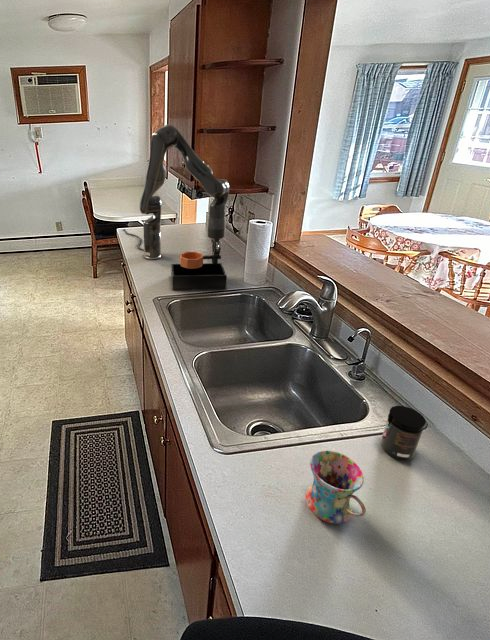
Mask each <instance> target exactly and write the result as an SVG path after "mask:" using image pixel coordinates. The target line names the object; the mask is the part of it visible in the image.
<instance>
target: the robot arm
mask: <svg viewBox="0 0 490 640" xmlns="http://www.w3.org/2000/svg"><path fill="white" fill-rule="evenodd" d="M172 148H175V149H176V150H177V151H178V152H179V153H180V155H181V156H182V159H183V162H184V165H185V168H186V170H187V171H188V172H189V173H190V175H191V176H193V178H194V179H195V180H196V181H198V182H199V183H200V185H201V187H202V188H203V190H204V191H205V193H206V194H208V195H209V197H211V198H212V199H211V202H210V203H209V207H208V218H207V237H208V238H209V239H210V252H211V255H212V256H213V259H211V263H213V265H217V264H218V263H219V259H218V257H219V255H221V249H222V247H221V246H222V242H221V239H224V238H225V237H226V224H227V221H226V220H227V219H226V218H227V217H226V213H227V203H228V199H229V194H230V184H229V182H228V180H227V179H225V178H216V177H215V176H214V174H213V173H214V172H213V169H212V168H211V167H210V166H209V165H208V164H207V163H205V161H204V160H203V159H201V158H200V157H199V155H198V154H197V153H196V152H195V151H194V149H193V148H192V147H191V145H190V144H189V143H188V142H187V140H186V139H185V138H184V136H183V135H182V134H181V132H180V131H179V130H178V129H177V128H176V127H175V126H174V125H172V124H165V125H163V126H161V127H160V128H158V129H156V130H155V131H154V133H152V135H151V138H150V147H149V157H148V158H149V159H148V164H147V169H146V174H145V181H144V186H143V190H142V194H141V197H140V201H139V211H140V213H141V214H142V215H145V216H146V215H148V216H149V215H151V216H150V217H148V218H146V219H145V220H143V221H142V227H143V228H142V229H143V230H142V231H143V248H141V247H140V245H141V242H142V239H141V237H140V236H138V235H137V234H135V233H129V232H127V231H126V229H125V228H123V229H122V231H123V232H124V233H125V234H126V235H129V236H133V237H136V238H138V239H139V241H138V244H137V245H136V247H137V249H138V250H140V251H143V258H145V260H158V259H160V258H161V257H162V235H161V234H162V229H161V225H162V199H161V197H160V196H159V195H155V194H156V193H157V192H158V191H160V189H161V188H162V187H163V185H164V184H165V181H166V179H167V178H166V177H167V166H166V164H165V162H164V161H165V160H164V159H165V155H166V153H167V152H168V151H169V150H170V149H172Z"/></svg>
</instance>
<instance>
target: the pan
mask: <svg viewBox="0 0 490 640" xmlns="http://www.w3.org/2000/svg"><path fill="white" fill-rule="evenodd" d="M212 255H213V254H211V255H210V254H208V255H203V253H201V252H198V251H184V252H182V253H180V254H179V264H180V265H181V266H182V267H184V268H188V269H195V268H200V267H201V266H202V265H203V263H204V260H212V259H213V256H212ZM218 260H222V255H221V254H220V255H219V257H218Z"/></svg>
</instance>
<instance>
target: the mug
mask: <svg viewBox="0 0 490 640" xmlns="http://www.w3.org/2000/svg"><path fill="white" fill-rule="evenodd" d="M309 466H310V471H311V472H312V476H313V482H312V484H311V485H310V486H309V487H308V488H307V489H306V491H305V497H304V498H305V502H306V504H307V507H308V508H309V510H310V511H311V513H313V514H314V515H315V516H316V517H318V518H319V519H321V520H322V521H324V522H327V523H330V524H336V525H337V524H338V525H339V524H344V523H346V522H347V521H349V519H351V517H355V518H361V517H364V516H365V515H366V513H367V508H366V506H365V503H364V502H363V501H362V499H360V498H359V497H358V496H357V495H355V494H354V493H356V492H357V491H359V490H360V489H361V488H362V487H363V485H364V481H365V479H364V473H363V471H362V469H361V468H360V466H359V465H358V464H357V463H356V462H355V461H354V460H353V459H351V458H350V457H348V456H347V455H344V454H343V453H340V452H338V451H334V450H319V451H317V452H315V453H314V454H313V455H312V456H311V458H310V460H309ZM351 499H353V500H355V501H356V502H357V503H358V505H359V506H360V508H361V513H355V512H353V510H352V509H353V508H352V505H351V502H350V501H351Z"/></svg>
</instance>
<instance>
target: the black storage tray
mask: <svg viewBox="0 0 490 640" xmlns="http://www.w3.org/2000/svg"><path fill="white" fill-rule="evenodd" d="M170 265H171V266H170V278H171V288H172V291H200V290H202V291H207V290H208V291H210V290H211V291H212V290H218V291H219V290H227V273H226V271H225V268H224V265H223V263H222V262H218V264H217V265H213V263H212V262H211V263H210V262H208V263H206V262H205V263H204V262H203V265H202V266H201V267H200V268H195V269H188V268H184V267H182V266H181V265H180V263H171V264H170Z"/></svg>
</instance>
